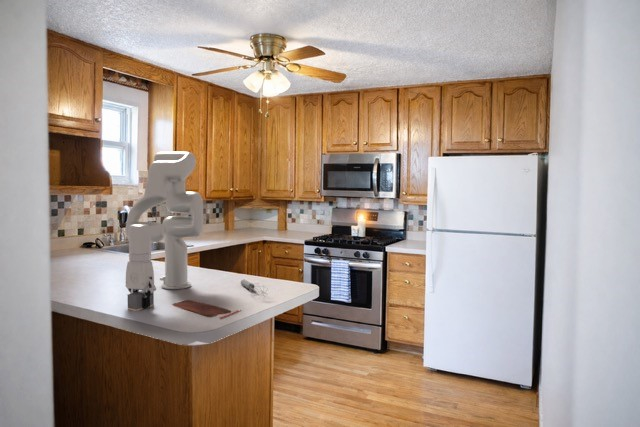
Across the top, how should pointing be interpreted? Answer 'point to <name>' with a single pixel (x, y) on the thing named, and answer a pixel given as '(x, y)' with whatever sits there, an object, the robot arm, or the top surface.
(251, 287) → the kitchen whisk
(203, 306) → the wooden tablet
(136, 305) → the sanding block
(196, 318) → the top surface
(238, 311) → the carpenter pencil
